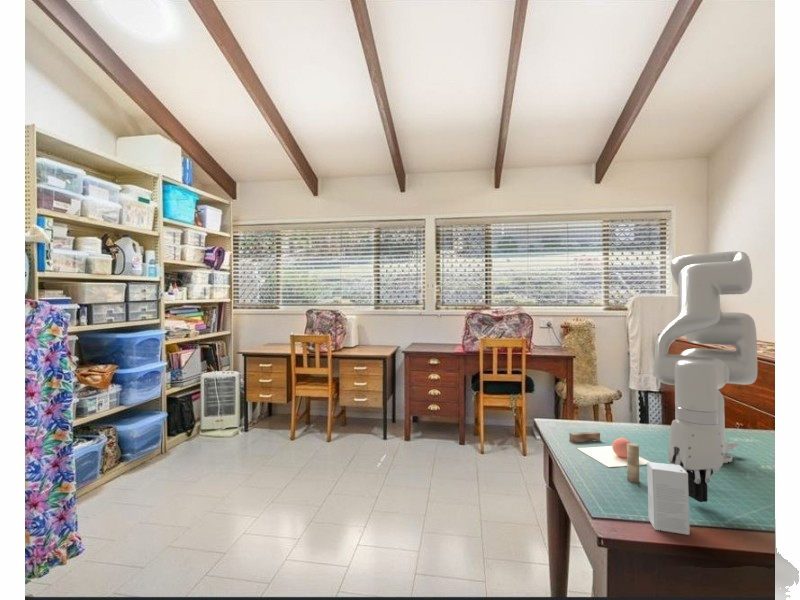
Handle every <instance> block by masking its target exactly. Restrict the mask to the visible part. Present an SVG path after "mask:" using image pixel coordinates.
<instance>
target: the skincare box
mask: <svg viewBox="0 0 800 600" xmlns="http://www.w3.org/2000/svg"><path fill="white" fill-rule="evenodd" d="M646 470H647V471H646V473H647V474H646V475H647V477H646V478H647V498H648V499H647V502H648V503H647V504H648V505H647V507H648V520H649V522H650V524H651V525H652V527H653V528H654V529H653V530H655V531H660V530H661V531H662V532H667V533H674V534H675V533H676V534H681V535H686V536H690V535H691V534H690V533H691V530H690V526H691V525H690V499H689V498H690V497H689V492H688V473H687V472H686V471H685V470H684V469H683V468H682V467H681V466H680V465H673V464H670V463H661V462H652V461H649V462H647V465H646Z"/></svg>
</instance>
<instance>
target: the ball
mask: <svg viewBox="0 0 800 600" xmlns="http://www.w3.org/2000/svg"><path fill="white" fill-rule="evenodd" d="M628 443H632V442H631V441H630V440H628V439H627V438H624V437H619V438H616V439H614V441H613V442H612V444H611V446H612V448H613V451H614V452H615V454H616V455H618V456H619V457H622V458H627V444H628Z"/></svg>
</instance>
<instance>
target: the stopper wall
mask: <svg viewBox="0 0 800 600" xmlns="http://www.w3.org/2000/svg"><path fill="white" fill-rule="evenodd" d="M593 440H600V441H601V432H599V431H587V432H586V431H585V432H583V431H582V432H569V442H571V443H572V442H574V443H582V442H581V441H589V442H594V441H593Z"/></svg>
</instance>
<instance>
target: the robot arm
mask: <svg viewBox="0 0 800 600" xmlns="http://www.w3.org/2000/svg"><path fill="white" fill-rule="evenodd" d="M670 272H671V275H672V278H673V281H674V283H675V284H676V285H677V287H678V288H677V311H676V312H677V315H676V317H675V318H674V319H673V320H671V321H670V322H669V323H668V324H667V325H666V326H664V328H663V329H662V330H661V331H660V333H659V334H658V336H657V338H656V341H655V345H654V354H653V355H654V356H653V357H654V358H653V372H654V377H655V379H656V380H657V381H658V382H660V383H661V384H665V385H670V386H674V406H675V409H674V410H675V412H674V413H675V414H674V415H675V416H674V417H675V419H673V420H672V421H671V425H670V429H669V436H668V447H667V448H668V450H667V451H668V452H667V453H668V454H667V456H668V461H669V463H670V462H671V463H675V465H680V466H681V467H682V468H683V469H684V470H685V471H686V472H687V473H688V492H689V498H691V499H693V500H695V501H697V502H698V503H703V502H705V503H706V502H708V484H709V483H710V482H711V476H712V475H713V474H715V473H717V472H719V471H720V470H721V467H722V466H723V465H724V464H729V463H731V462H733V456H732V454H730V453H729V450H737V449H738V448H739V445H738V443H737V442H736V441H727V440H726V433H725V432H726V427H725V426H726V425H725V423H726V421H725V419H726V418H725V416H726V415H725V398H724V395H723V393H721V391H720V389H722V388H724V386H726V384H733V385H743V386H745V385H747V386H748V385H751V384H754V383H755V382H756V380H757V378H758V346H757V345H758V343H757V341H758V340H757V327H756V322H755V321H754V318H753V316H751V315H750V314H748V313H745V312H734V311H733V312H731V311H730V312H727V311H724V312H722V311H721V296H722V295H745V294H747V293H749V292H750V290H751V287H752V284H753V269H752V264H751V259H750V256H749V255H748V253H746V252H744V251H740V250H738V251H736V250H735V251H734V250H733V251H724V252H723V251H721V252H706V253H705V252H704V253H692V254H691V253H690V254H685V255H681V256H678V257H674V258H673V259H672V260H671V262H670ZM720 295H721V296H720ZM684 336H685V338H686V340H687V341H688V342H690V343H693V344H699V345H712V346H713V345H714V346H716V345H717V346H730V347H733V348H734V349H735V350H733V349H717V348H697V347H695V348H689V349H684V350H683V351H681V353H680V354H673V353H672V354H671V353H670V354H669V348H670V346H671V344H673V343H674V342H675V341H676V340H677V339H679V338H682V337H684ZM728 462H729V463H728Z"/></svg>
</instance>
